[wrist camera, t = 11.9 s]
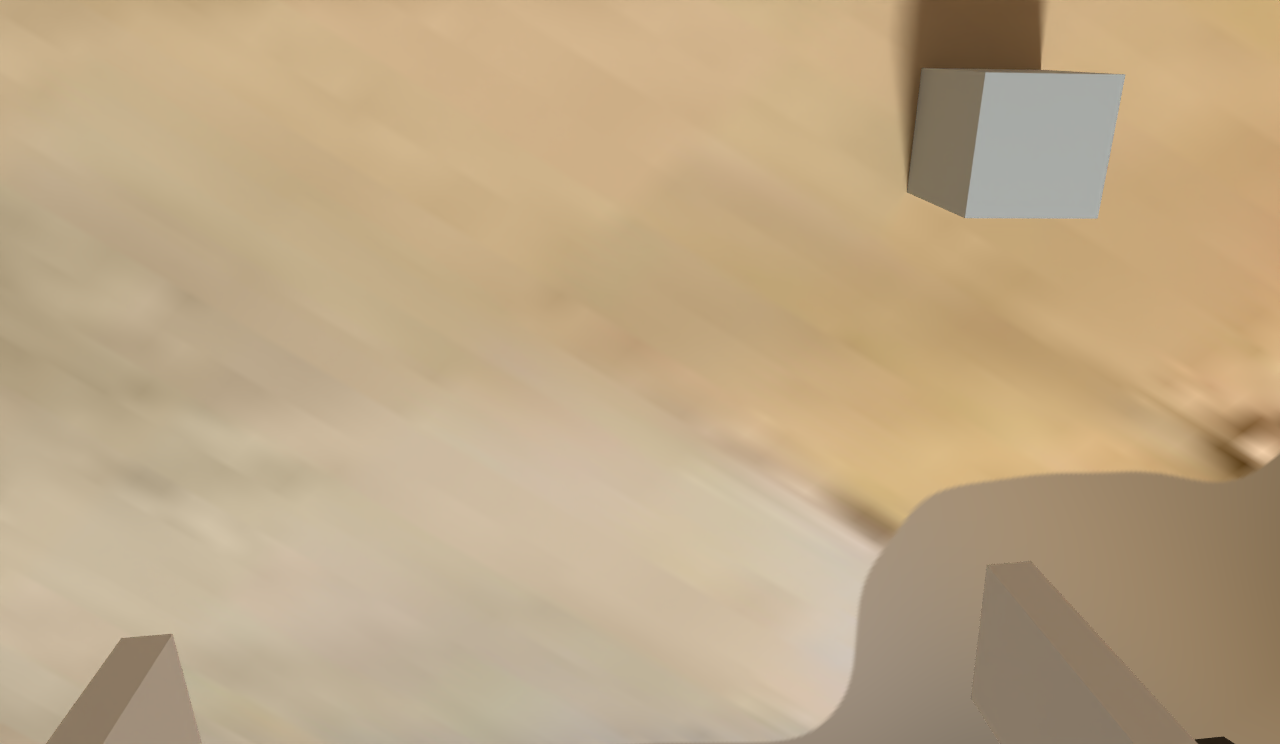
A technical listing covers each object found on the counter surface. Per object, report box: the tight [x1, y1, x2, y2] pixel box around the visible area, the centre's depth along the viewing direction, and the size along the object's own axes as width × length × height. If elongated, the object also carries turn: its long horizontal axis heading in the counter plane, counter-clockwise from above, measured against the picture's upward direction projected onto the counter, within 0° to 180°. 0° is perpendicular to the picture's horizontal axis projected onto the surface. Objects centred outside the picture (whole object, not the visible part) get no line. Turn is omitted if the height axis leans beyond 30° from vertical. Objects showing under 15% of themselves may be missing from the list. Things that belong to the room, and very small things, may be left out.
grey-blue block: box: [907, 68, 1125, 218], centre depth 34 cm, size 5×5×6 cm
